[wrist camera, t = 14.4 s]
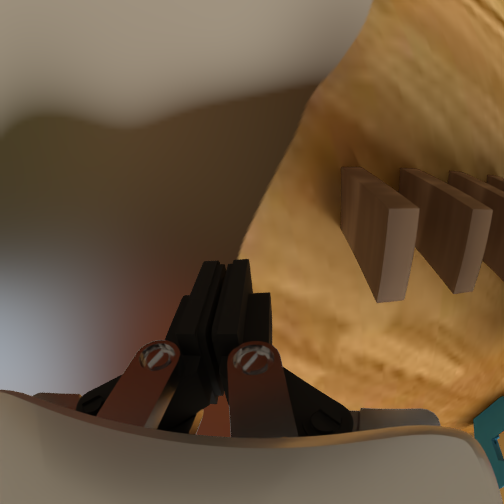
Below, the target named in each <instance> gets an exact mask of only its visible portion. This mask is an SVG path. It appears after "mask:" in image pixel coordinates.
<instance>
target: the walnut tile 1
mask: <svg viewBox="0 0 504 504" xmlns="http://www.w3.org/2000/svg"><path fill="white" fill-rule="evenodd" d="M419 210H420V208H418V207H417V206H416V205H414V204H413V203H412V202H411V201H409V200H408V199H406V198H405V197H404V196H402V195H401V194H400V193H398V192H397V191H395V190H394V189H393V188H391V187H390V186H388V185H387V184H386V183H384V182H383V181H381V180H380V179H378V178H377V177H375V176H374V175H372V174H371V173H369V172H368V171H366V170H365V169H363V168H362V167H341V230H342V232H343V234H344V236H345V238H346V240H347V242H348V243H349V245H350V247H351V249H352V251H353V253H354V255H355V257H356V259H357V262H358V264H359V266H360V268H361V270H362V272H363V274H364V276H365V278H366V280H367V282H368V285H369V287H370V289H371V291H372V293H373V296H374V298H375V300H376V302H377V303H381V302H391V301H401V300H404V298H405V294H406V290H407V285H408V280H409V275H410V270H411V265H412V259H413V254H414V248H415V241H416V234H417V227H418V219H419Z"/></svg>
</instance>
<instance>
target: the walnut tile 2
mask: <svg viewBox="0 0 504 504" xmlns="http://www.w3.org/2000/svg"><path fill="white" fill-rule="evenodd" d="M399 193H400V194H401V195H402V196H404V197H405V198H406V199H408V200H409V201H411V202H412V203H413V204H414V205H416V206H417V207H418V208H420V210H419V219H418V227H417V234H416V241H415V248H416V249H417V250H418V251H419V252H420V253H421V255H422V256H423V257H424V258H425V259H426V260H427V262H428V263H429V264H430V265H431V266H432V268H433V269H434V270H435V271H436V273H437V274H438V275H439V276H440V278H441V279H442V280H443V281H444V283H445V284H446V285H447V286H448V288H449V289H450V290H451V292H452V293H453V294H458V293H465V292H472V291H473V290H474V287H475V283H476V280H477V277H478V274H479V270H480V267H481V263H482V259H483V255H484V251H485V247H486V243H487V239H488V234H489V229H490V224H491V219H492V213H493V210H492V209H491V208H489V207H488V206H486V205H484V204H483V203H481V202H479V201H478V200H476V199H474V198H472V197H471V196H469V195H467V194H465V193H464V192H462V191H460V190H458V189H456V188H454V187H453V186H451V185H449V184H447V183H445V182H443V181H441V180H439V179H437V178H435V177H433V176H431V175H429V174H427V173H425V172H423V171H421V170H419V169H413V168H400V185H399Z"/></svg>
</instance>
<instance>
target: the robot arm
mask: <svg viewBox="0 0 504 504" xmlns="http://www.w3.org/2000/svg"><path fill="white" fill-rule="evenodd" d="M224 392H225V395H226V398H227V401H228V405H229V411H230V427H231V437H217V436H204V435H196V433H197V430H198V428H199V425H200V422H201V419H202V417H203V409H204V408H205V407H207V406H208V405H210V404H217V401H218V396H223V394H224ZM0 504H503V502H502V498H501V494H500V490H499V487H498V483H497V480H496V477H495V474H494V471H493V469H492V466H491V464H490V462H489V459H488V457H487V455H486V453H485V451H484V450H483V448H482V447H481V445H480V444H479V442H478V441H477V440H476V439H475V438H473V436H472V435H470V434H468V433H467V432H464V431H461V430H458V429H454V428H450V427H442V426H440V422H439V419H438V418H437V416H436V415H435V414H434V413H433V412H431V411H429V410H426V409H369V408H361V409H360V411H349V410H348V409H347V408H345V407H344V406H343V405H341V404H340V403H338V402H337V401H335V400H333V399H332V398H330V397H328V396H327V395H325V394H324V393H322V392H321V391H319V390H317V389H316V388H314V387H313V386H311V385H310V384H308V383H306V382H305V381H303V380H302V379H300V378H299V377H297V376H296V375H294V374H293V373H291V372H290V371H288V370H287V369H285V368H284V367H283V366H282V362H281V357H280V354H279V352H278V350H277V349H276V348H275V347H274V346H273V345H272V310H271V296H270V293H253V290H252V281H251V272H250V264H249V259H242V260H234V261H233V264H228V267H227V270H226V268H225V265H224V264H220V262H219V261H205V262H204V263H203V265H202V267H201V269H200V272H199V274H198V277H197V279H196V282H195V284H194V287H193V289H192V292H191V294H190V295H185V296H183V298H182V300H181V302H180V304H179V307H178V309H177V311H176V314H175V316H174V319H173V321H172V323H171V326H170V328H169V331H168V333H167V336H166V338H165V340H157V341H153V342H150V343H148V344H146V345H144V346H143V347H141V348H140V350H139V351H138V352H137V353H136V355H135V356H134V358H133V359H132V361H131V362H130V364H129V365H128V367H127V368H126V370H125V371H124V373H123V374H122V375H120V376H118V377H117V378H115V379H113V380H111V381H109V382H107V383H105V384H103V385H101V386H99V387H97V388H95V389H93V390H91V391H89V392H87V393H86V394H84V395H83V396H81V395H80V394H59V393H37V394H35V395H33V396H30V395H27V394H24V393H20V392H15V391H10V390H0Z"/></svg>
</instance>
